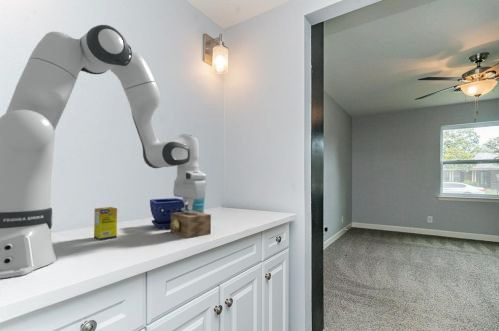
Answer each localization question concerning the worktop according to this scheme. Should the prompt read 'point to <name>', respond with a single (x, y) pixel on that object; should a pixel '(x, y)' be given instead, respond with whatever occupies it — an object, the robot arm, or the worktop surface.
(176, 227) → the pin
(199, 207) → the tube
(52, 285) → the worktop surface
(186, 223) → the block
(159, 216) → the flower pot
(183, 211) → the keeper
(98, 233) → the supplement box
